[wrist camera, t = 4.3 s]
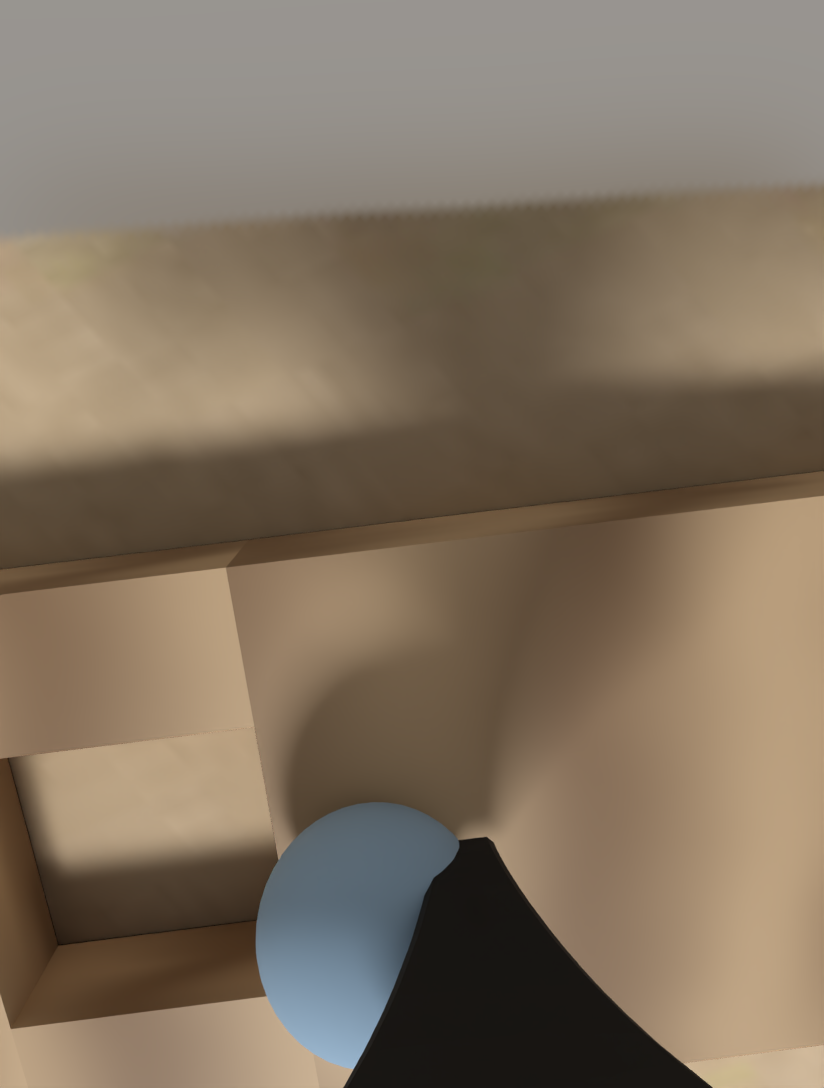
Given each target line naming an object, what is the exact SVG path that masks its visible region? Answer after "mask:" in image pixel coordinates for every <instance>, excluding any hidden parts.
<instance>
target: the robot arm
mask: <svg viewBox="0 0 824 1088" xmlns="http://www.w3.org/2000/svg"><path fill="white" fill-rule="evenodd" d="M458 841H459V849H458V851H457V853H456V856H455V858H454V859H453V861H452V862H451V863H450V864H449V865H448V866H447V867H446V868H445V869H444V870H443V871H442V872H441V873H439V874H438V875H437V876H435V877H434V878H433V880H432V882H431V884H430V886H429V888H428V890H427V891H426V893H425V895H424V899H423V903H422V907H421V910H420V913H419V917H418V920H417V923H416V927H415V930H414V933H413V937H412V940H411V943H410V946H409V948H408V951H407V954H406V956H405V959H404V961H403V964H402V967H401V969H400V972H399V975H398V977H397V980H396V982H395V985H394V988H393V990H392V992H391V995H390V997H389V999H388V1001H387V1004H386V1006H385V1008H384V1010H383V1013H382V1015H381V1017H380V1019H379V1021H378V1023H377V1025H376V1027H375V1029H374V1031H373V1033H372V1035H371V1038H370V1040H369V1042H368V1044H367V1045H366V1047H365V1049H364V1051H363V1053H362V1055H361V1057H360V1058H359V1060H358V1062H357V1064H356V1066H355V1067H354V1069H353V1071H352V1073H351V1075H350V1077H349V1078H348V1080H347V1082H346V1084H345V1086H344V1087H343V1088H712V1087H711V1086H710V1085H709V1084H708V1083H706V1082H705V1081H704V1080H703V1079H701V1078H700V1077H699V1076H698V1075H697V1074H695V1073H694V1072H693V1071H692V1070H690V1069H689V1068H688V1067H687V1066H685V1065H684V1064H683V1063H682V1062H681V1061H679V1060H678V1059H677V1058H676V1057H674V1056H673V1055H672V1054H671V1053H669V1052H668V1051H667V1050H666V1049H665V1048H663V1047H662V1046H661V1045H660V1044H659V1043H657V1042H656V1041H655V1040H654V1039H653V1038H652V1037H651V1036H650V1035H649V1034H648V1033H647V1032H645V1031H644V1030H643V1029H642V1028H641V1027H640V1026H639V1025H638V1024H637V1023H636V1022H635V1021H634V1020H632V1019H631V1018H630V1017H629V1016H628V1015H627V1014H626V1013H625V1012H624V1011H623V1010H622V1009H621V1008H620V1007H619V1006H618V1005H617V1004H616V1003H615V1002H614V1001H613V1000H612V999H611V998H610V997H609V996H608V995H607V994H606V993H605V992H604V991H603V990H602V989H601V988H600V987H599V986H598V985H597V984H596V983H595V981H594V980H593V979H592V978H591V977H590V976H589V975H588V974H587V973H586V972H585V971H584V969H583V968H582V967H581V966H580V965H579V964H578V963H577V961H576V960H575V959H574V958H573V957H572V956H571V954H570V953H569V952H568V951H567V950H566V949H565V947H564V946H563V945H562V944H561V943H560V941H559V940H558V939H557V938H556V936H555V935H554V934H553V933H552V931H551V930H550V929H549V928H548V926H547V925H546V924H545V922H544V921H543V920H542V918H541V917H540V916H539V914H538V913H537V912H536V910H535V909H534V908H533V906H532V905H531V904H530V902H529V901H528V899H527V898H526V896H525V895H524V894H523V892H522V891H521V889H520V888H519V886H518V885H517V883H516V881H515V880H514V878H513V877H512V875H511V874H510V872H509V870H508V869H507V867H506V865H505V864H504V862H503V860H502V858H501V856H500V855H499V853H498V851H497V849H496V846H495V844H494V842H493V841H491V840H490V839H489V838H488V837H479V838H471V839H463V840H458Z"/></svg>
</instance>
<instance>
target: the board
mask: <svg viewBox="0 0 824 1088" xmlns="http://www.w3.org/2000/svg"><path fill="white" fill-rule="evenodd" d="M253 727H255V733H256V739H257V744H258V750H259V755H260V761H261V766H262V772H263V777H264V783H265V789H266V794H267V800H268V805H269V811H270V816H271V822H272V827H273V833H274V839H275V844H276V850H277V855H278V860H279V859H280V857H281V855H282V854H283V853H284V851H285V850H286V849H287V848H288V846H289V845H290V844H291V843H292V841H293V840H294V839H295V838H296V837H297V836H298V835H299V834H300V833H302V832H303V831H304V830H305V829H306V828H307V827H309V826H310V825H311V824H313V823H314V822H315V821H317V820H319V819H320V818H322V817H324V816H326V815H327V814H329V813H331V812H334V811H336V810H339V809H341V808H344V807H348V806H351V805H355V804H361V803H369V802H387V803H393V804H400V805H404V806H407V807H410V808H413V809H416V810H418V811H420V812H423V813H425V814H427V815H429V816H430V817H432V818H434V819H435V820H437V821H438V822H440V823H441V824H442V825H444V826H445V827H446V828H447V829H448V830H449V831H451V832H452V833H453V834H454V835H455V836H456V838H457V839H458V840H463V839H471V838H479V837H488V838H489V839H490V840H491V841H493V842H494V844H495V846H496V849H497V851H498V853H499V855H500V856H501V858H502V860H503V862H504V864H505V865H506V867H507V869H508V870H509V872H510V874H511V875H512V877H513V878H514V880H515V881H516V883H517V885H518V886H519V888H520V889H521V891H522V892H523V894H524V895H525V896H526V898H527V899H528V901H529V902H530V904H531V905H532V906H533V908H534V909H535V910H536V912H537V913H538V914H539V916H540V917H541V918H542V920H543V921H544V922H545V924H546V925H547V926H548V928H549V929H550V930H551V931H552V933H553V934H554V935H555V936H556V938H557V939H558V940H559V941H560V943H561V944H562V945H563V946H564V947H565V949H566V950H567V951H568V952H569V953H570V954H571V956H572V957H573V958H574V959H575V960H576V961H577V963H578V964H579V965H580V966H581V967H582V968H583V969H584V971H585V972H586V973H587V974H588V975H589V976H590V977H591V978H592V979H593V980H594V981H595V983H596V984H597V985H598V986H599V987H600V988H601V989H602V990H603V991H604V992H605V993H606V994H607V995H608V996H609V997H610V998H611V999H612V1000H613V1001H614V1002H615V1003H616V1004H617V1005H618V1006H619V1007H620V1008H621V1009H622V1010H623V1011H624V1012H625V1013H626V1014H627V1015H628V1016H629V1017H630V1018H631V1019H632V1020H634V1021H635V1022H636V1023H637V1024H638V1025H639V1026H640V1027H641V1028H642V1029H643V1030H644V1031H645V1032H647V1033H648V1034H649V1035H650V1036H651V1037H652V1038H653V1039H654V1040H655V1041H656V1042H657V1043H659V1044H660V1045H661V1046H662V1047H663V1048H665V1049H666V1050H667V1051H668V1052H669V1053H671V1054H672V1055H673V1056H674V1057H676V1058H677V1059H678V1060H679V1061H681V1062H682V1063H689V1062H697V1061H705V1060H712V1059H720V1058H728V1057H735V1056H743V1055H751V1054H758V1053H766V1052H773V1051H781V1050H789V1049H796V1048H804V1047H812V1046H819V1045H824V471H819V472H811V473H802V474H794V475H786V476H777V477H769V478H760V479H752V480H744V481H735V482H727V483H719V484H710V485H702V486H694V487H685V488H677V489H669V490H660V491H652V492H644V493H635V494H627V495H619V496H610V497H602V498H593V499H585V500H577V501H568V502H560V503H552V504H543V505H535V506H527V507H518V508H510V509H502V510H493V511H485V512H477V513H468V514H460V515H452V516H443V517H435V518H426V519H418V520H410V521H401V522H393V523H385V524H376V525H368V526H360V527H351V528H343V529H335V530H326V531H318V532H310V533H301V534H293V535H285V536H276V537H268V538H259V539H251V540H243V541H234V542H226V543H218V544H209V545H201V546H193V547H184V548H176V549H168V550H159V551H151V552H143V553H134V554H126V555H118V556H109V557H101V558H93V559H84V560H76V561H67V562H59V563H51V564H42V565H34V566H26V567H17V568H9V569H1V570H0V1088H343V1087H344V1086H345V1084H346V1082H347V1080H348V1078H349V1077H350V1075H351V1073H352V1071H353V1069H350V1068H344V1067H342V1066H339V1065H336V1064H333V1063H330V1062H328V1061H326V1060H324V1059H322V1058H320V1057H318V1056H317V1055H315V1054H313V1053H312V1052H310V1051H309V1050H308V1049H306V1048H305V1047H304V1046H302V1045H301V1044H300V1043H299V1042H298V1041H297V1040H296V1039H295V1038H294V1037H293V1036H292V1035H291V1034H290V1033H289V1032H288V1031H287V1029H286V1028H285V1027H284V1025H283V1024H282V1022H281V1021H280V1020H279V1018H278V1017H277V1016H276V1014H275V1012H274V1010H273V1008H272V1006H271V1004H270V1002H269V1000H268V998H267V995H266V993H265V990H264V987H263V984H262V982H261V978H260V973H259V968H258V963H257V956H256V923H257V921H249V922H241V923H233V924H225V925H217V926H209V927H202V928H194V929H186V930H178V931H170V932H162V933H154V934H146V935H139V936H131V937H123V938H115V939H107V940H99V941H91V942H84V943H76V944H68V945H60V946H58V943H57V940H56V936H55V932H54V929H53V925H52V921H51V917H50V914H49V910H48V906H47V903H46V899H45V895H44V891H43V888H42V884H41V880H40V877H39V873H38V869H37V866H36V862H35V858H34V854H33V851H32V847H31V843H30V840H29V836H28V832H27V828H26V825H25V821H24V817H23V814H22V810H21V806H20V802H19V799H18V795H17V791H16V788H15V784H14V780H13V777H12V773H11V769H10V765H9V762H8V758H10V757H18V756H26V755H34V754H42V753H50V752H58V751H67V750H75V749H83V748H91V747H99V746H107V745H115V744H123V743H131V742H139V741H148V740H156V739H164V738H172V737H180V736H188V735H196V734H204V733H212V732H221V731H229V730H237V729H245V728H253Z"/></svg>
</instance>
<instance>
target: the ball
mask: <svg viewBox="0 0 824 1088" xmlns="http://www.w3.org/2000/svg"><path fill="white" fill-rule="evenodd" d="M458 849H459V841H458V839H457V838H456V836H455V835H454V834H453V833H452V832H451V831H449V830H448V829H447V828H446V827H445V826H444V825H442V824H441V823H440V822H438V821H437V820H435V819H434V818H432V817H430V816H429V815H427V814H425V813H423V812H420V811H418V810H416V809H413V808H410V807H407V806H404V805H400V804H393V803H387V802H369V803H361V804H355V805H351V806H348V807H344V808H341V809H339V810H336V811H334V812H331V813H329V814H327V815H326V816H324V817H322V818H320V819H319V820H317V821H315V822H314V823H313V824H311V825H310V826H309V827H307V828H306V829H305V830H304V831H303V832H302V833H300V834H299V835H298V836H297V837H296V838H295V839H294V840H293V841H292V843H291V844H290V845H289V846H288V848H287V849H286V850H285V851H284V853H283V854H282V855H281V857H280V859H279V860H278V862H277V864H276V865H275V867H274V868H273V870H272V873H271V875H270V877H269V879H268V881H267V884H266V886H265V889H264V892H263V895H262V898H261V902H260V906H259V912H258V917H257V923H256V956H257V963H258V968H259V973H260V978H261V982H262V984H263V987H264V990H265V993H266V995H267V998H268V1000H269V1002H270V1004H271V1006H272V1008H273V1010H274V1012H275V1014H276V1016H277V1017H278V1018H279V1020H280V1021H281V1022H282V1024H283V1025H284V1027H285V1028H286V1029H287V1031H288V1032H289V1033H290V1034H291V1035H292V1036H293V1037H294V1038H295V1039H296V1040H297V1041H298V1042H299V1043H300V1044H301V1045H302V1046H304V1047H305V1048H306V1049H308V1050H309V1051H310V1052H312V1053H313V1054H315V1055H317V1056H318V1057H320V1058H322V1059H324V1060H326V1061H328V1062H330V1063H333V1064H336V1065H339V1066H342V1067H344V1068H350V1069H354V1067H355V1066H356V1064H357V1062H358V1060H359V1058H360V1057H361V1055H362V1053H363V1051H364V1049H365V1047H366V1045H367V1044H368V1042H369V1040H370V1038H371V1035H372V1033H373V1031H374V1029H375V1027H376V1025H377V1023H378V1021H379V1019H380V1017H381V1015H382V1013H383V1010H384V1008H385V1006H386V1004H387V1001H388V999H389V997H390V995H391V992H392V990H393V988H394V985H395V982H396V980H397V977H398V975H399V972H400V969H401V967H402V964H403V961H404V959H405V956H406V954H407V951H408V948H409V946H410V943H411V940H412V937H413V933H414V930H415V927H416V923H417V920H418V917H419V913H420V910H421V907H422V903H423V899H424V895H425V893H426V891H427V890H428V888H429V886H430V884H431V882H432V880H433V878H434V877H435V876H437V875H438V874H439V873H441V872H442V871H443V870H444V869H445V868H446V867H447V866H448V865H449V864H450V863H451V862H452V861H453V859H454V858H455V856H456V853H457V851H458Z"/></svg>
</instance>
